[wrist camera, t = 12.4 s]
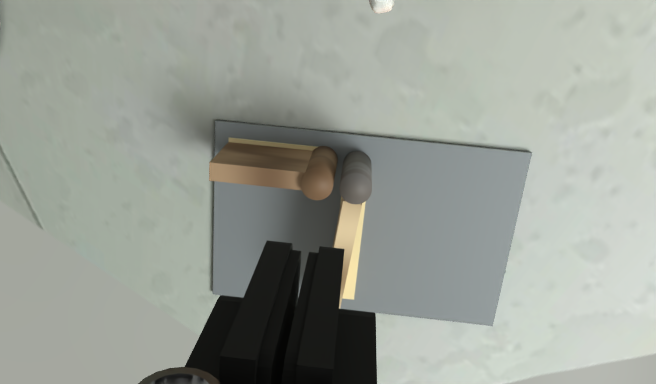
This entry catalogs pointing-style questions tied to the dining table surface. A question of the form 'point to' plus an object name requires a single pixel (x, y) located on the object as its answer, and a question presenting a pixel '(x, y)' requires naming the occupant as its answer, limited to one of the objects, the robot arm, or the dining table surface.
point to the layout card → (383, 222)
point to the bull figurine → (381, 5)
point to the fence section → (277, 168)
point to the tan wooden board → (351, 204)
